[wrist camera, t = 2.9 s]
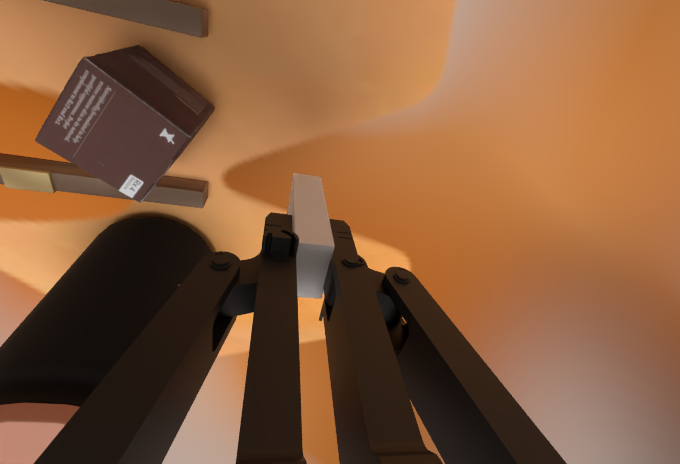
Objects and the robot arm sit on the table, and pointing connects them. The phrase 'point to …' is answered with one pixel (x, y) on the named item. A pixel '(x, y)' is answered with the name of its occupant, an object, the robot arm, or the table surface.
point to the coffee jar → (87, 327)
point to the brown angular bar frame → (50, 176)
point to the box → (124, 119)
